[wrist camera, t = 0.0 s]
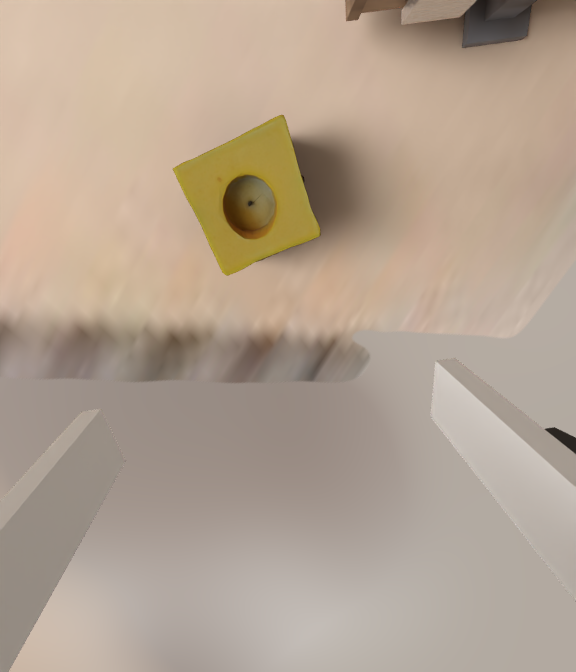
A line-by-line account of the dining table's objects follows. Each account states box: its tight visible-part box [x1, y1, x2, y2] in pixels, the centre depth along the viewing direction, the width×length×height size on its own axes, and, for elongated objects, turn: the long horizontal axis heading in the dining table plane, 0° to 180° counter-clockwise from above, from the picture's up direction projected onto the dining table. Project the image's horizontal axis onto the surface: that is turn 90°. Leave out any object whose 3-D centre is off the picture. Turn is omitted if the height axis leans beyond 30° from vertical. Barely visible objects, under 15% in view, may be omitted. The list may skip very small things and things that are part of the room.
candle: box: [173, 115, 321, 276], centre depth 30 cm, size 10×10×10 cm
